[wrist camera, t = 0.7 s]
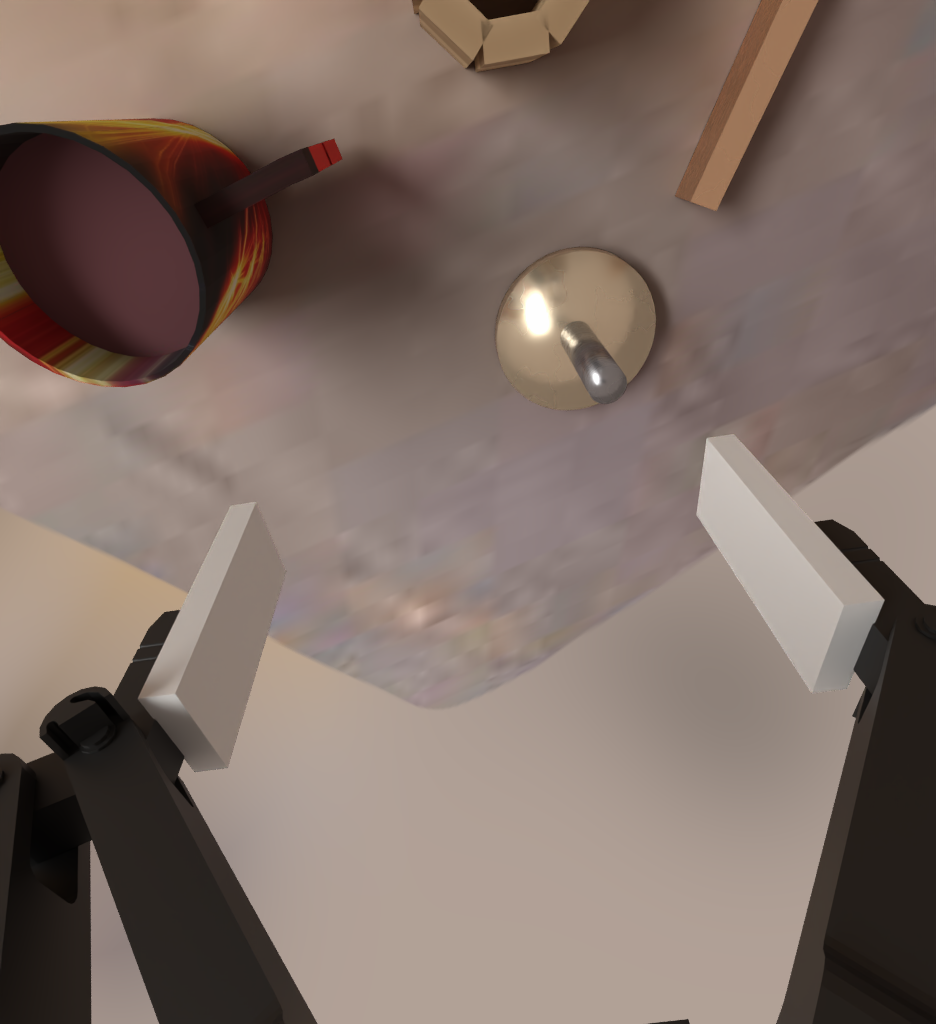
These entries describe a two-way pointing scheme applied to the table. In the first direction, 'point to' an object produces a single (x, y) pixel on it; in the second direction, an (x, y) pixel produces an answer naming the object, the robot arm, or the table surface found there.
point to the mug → (129, 241)
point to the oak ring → (497, 31)
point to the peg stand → (575, 329)
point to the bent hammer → (744, 99)
